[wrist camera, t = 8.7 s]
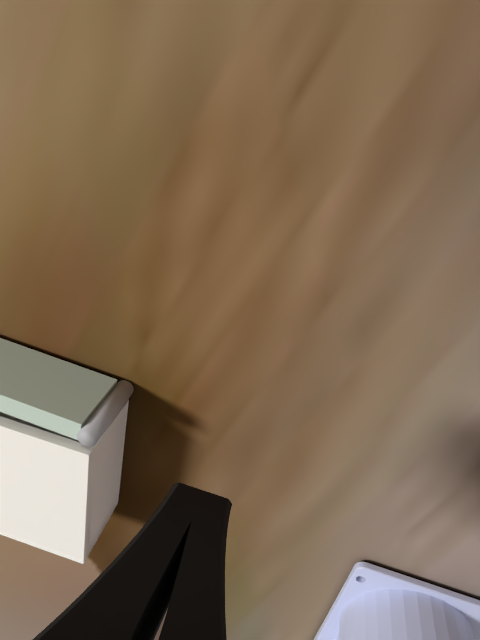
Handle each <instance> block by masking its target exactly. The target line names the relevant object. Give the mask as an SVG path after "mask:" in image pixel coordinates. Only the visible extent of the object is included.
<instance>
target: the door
mask: <svg viewBox="0 0 480 640" xmlns="http://www.w3.org/2000/svg"><path fill="white" fill-rule="evenodd" d="M133 392H134V387H133V385H132V384H131V383H130V382H128V381H126V380H121V381H119V382H118V383H117V379H114V378H111V377H109V376H106V375H103V374H100V373H97V372H95V371H92V370H89V369H86V368H83V367H81V366H78V365H75V364H72V363H69V362H67V361H64V360H61V359H58V358H55V357H52V356H50V355H47V354H44V353H41V352H38V351H36V350H33V349H30V348H27V347H24V346H22V345H19V344H16V343H13V342H10V341H8V340H5V339H2V338H0V412H3V413H5V414H8V415H11V416H13V417H16V418H19V419H22V420H24V421H27V422H30V423H32V424H35V425H38V426H41V427H43V428H46V429H49V430H51V431H54V432H57V433H59V434H62V435H65V436H68V437H70V438H73V439H76V440H78V441H79V442H80V443H81V444H82V445H84V446H86V447H93V446H95V445H96V443H97V442H98V440H99V439H100V438H101V436H102V435H103V433H104V432H105V431H106V429H107V428H108V427H109V425H110V424H111V422H112V421H113V420H114V418H115V417H116V416H117V414H118V413H119V411H120V410H121V409H122V407H123V406H124V404H125V403H126V402H127V400H128V399H129V398H130V396H131V395H132V393H133Z"/></svg>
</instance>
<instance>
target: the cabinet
mask: <svg viewBox="0 0 480 640" xmlns="http://www.w3.org/2000/svg"><path fill="white" fill-rule="evenodd" d="M128 403H129V400H127V402H126V403H125V404H124V406H123V407H122V409H121V410H120V411H119V413H118V414H117V416H116V417H115V418H114V420H113V421H112V422H111V424H110V425H109V427H108V428H107V429H106V431H105V432H104V433H103V435H102V436H101V438H100V439H99V440H98V442H97V443H96V445H95V446H93V447H86V446H84V445H82V444H81V443H80V442H79V441H78V440H76V439H73V438H70V437H68V436H65V435H62V434H59V433H57V432H54V431H51V430H49V429H46V428H43V427H41V426H38V425H35V424H32V423H30V422H27V421H24V420H22V419H19V418H16V417H13V416H11V415H8V414H5V413H3V412H0V534H1V535H3V536H6V537H9V538H12V539H15V540H17V541H20V542H23V543H26V544H29V545H32V546H35V547H37V548H40V549H43V550H46V551H48V552H51V553H54V554H57V555H59V556H62V557H65V558H68V559H71V560H73V561H76V562H79V563H82V564H84V562H85V560H86V559H87V557H88V555H89V553H90V551H91V550H92V548H93V546H94V544H95V543H96V541H97V539H98V537H99V536H100V534H101V532H102V530H103V529H104V527H105V525H106V523H107V521H108V520H109V518H110V516H111V514H112V513H113V511H114V509H115V507H116V506H117V504H118V500H119V490H120V480H121V471H122V461H123V451H124V442H125V432H126V422H127V413H128Z"/></svg>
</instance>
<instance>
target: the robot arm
mask: <svg viewBox="0 0 480 640" xmlns="http://www.w3.org/2000/svg"><path fill="white" fill-rule="evenodd" d="M231 506H232V503H231V502H230V500H229V499H227V498H224V497H221V496H218V495H215V494H212V493H209V492H206V491H203V490H200V489H197V488H194V487H191V486H188V485H185V484H182V483H177V484H174V485H173V487H172V488H171V490H170V491H169V493H168V495H167V496H166V497H165V499H164V500H163V502H162V503H161V505H160V506H159V507H158V509H157V510H156V511H155V513H154V514H153V515H152V516H151V518H150V519H149V520H148V521H147V523H146V524H145V525H144V526H143V528H142V529H141V530H140V531H139V532H138V534H137V535H136V536H135V537H134V538H133V539H132V540H131V542H130V543H129V544H128V545H127V546H126V547H125V548H124V550H123V551H122V552H121V553H120V554H119V555H118V556H117V558H116V559H115V560H114V561H113V562H112V563H111V564H110V565H109V566H108V567H107V568H106V569H105V570H104V571H103V572H102V573H101V574H100V576H99V577H98V578H97V579H96V580H95V581H94V582H93V583H92V584H91V585H90V586H89V587H88V588H87V589H86V590H85V591H84V592H83V593H82V594H81V595H80V596H79V597H78V598H77V599H76V600H75V601H74V602H73V603H72V604H71V605H70V606H69V607H68V608H67V609H66V610H65V611H64V612H62V613H61V614H60V615H59V616H58V617H57V618H56V619H55V620H54V621H53V622H52V623H50V624H49V625H48V626H47V627H46V628H45V629H44V630H43V631H42V632H41V633H39V634H38V635H37V636H36V637H35V638H34V639H33V640H154V638H155V636H156V633H157V631H158V629H159V627H160V624H161V622H162V620H163V617H164V615H165V613H166V610H167V608H168V610H167V614H166V618H165V621H164V624H163V627H162V630H161V634H160V637H159V640H226V622H225V553H226V538H227V528H228V521H229V515H230V510H231ZM168 606H169V607H168ZM314 640H480V600H477V599H474V598H471V597H468V596H465V595H462V594H459V593H456V592H453V591H450V590H447V589H444V588H441V587H438V586H435V585H432V584H430V583H427V582H424V581H421V580H418V579H415V578H412V577H409V576H406V575H403V574H400V573H397V572H394V571H391V570H388V569H385V568H382V567H379V566H376V565H373V564H370V563H367V562H358V563H356V564H355V565H354V567H353V569H352V571H351V573H350V574H349V576H348V578H347V580H346V582H345V584H344V585H343V587H342V589H341V591H340V593H339V594H338V596H337V598H336V600H335V602H334V604H333V605H332V607H331V609H330V611H329V613H328V615H327V616H326V618H325V620H324V622H323V624H322V625H321V627H320V629H319V631H318V633H317V635H316V636H315V638H314Z"/></svg>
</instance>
